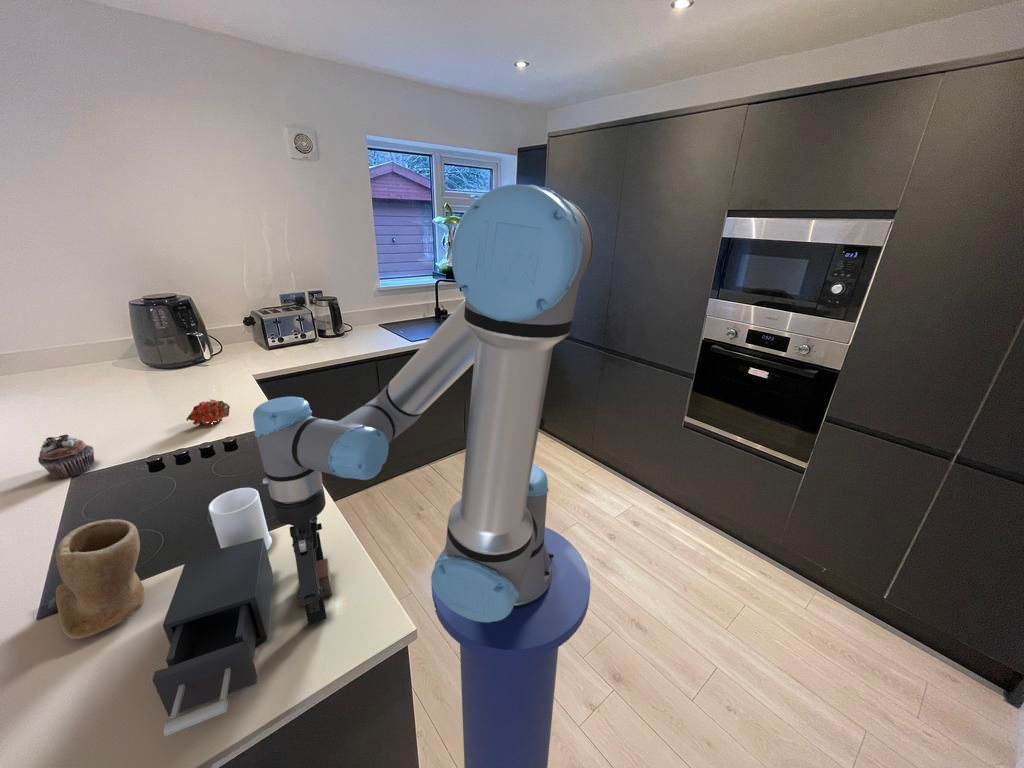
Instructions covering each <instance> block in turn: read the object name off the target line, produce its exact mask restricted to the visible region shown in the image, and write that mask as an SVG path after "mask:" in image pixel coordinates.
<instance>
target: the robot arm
mask: <svg viewBox="0 0 1024 768" xmlns="http://www.w3.org/2000/svg"><path fill="white" fill-rule="evenodd" d="M454 231H455V232H454V236H453V238H452V244H451V253H450V256H451V257H450V258H451V267H452V273H453V277H454V280H455V282H456V284H457V287H458V288H459V289H460V290H461V292H462V294H463V296H464V299H463V300H462V301H461V303H460V304H459V305H458V306H457V307H456V308H455V309H454V310H453V312H451V314H450V315H449V316H448V317H447V318H446V319H445V320H444V322H442V324H441V325H440V326H439V327H438V328H437V329H436V330H435V332H433V334H432V335H431V336H430V337H429V338H428V339H426V341H425V342H424V344H423V345H422V346H421V347H420V348H419V349H418V350H417V352H416V353H415V354H414V355H413V356H412V357H410V359H409V360H408V361H407V362H406V363H405V365H404V366H403V367H402V368H401V369H400V370H399V371H398V372H397V373H396V375H395V376H394V377H393V378H392V379H391V380H390V381H389V382H388V384H386V386H385V387H383V389H382V390H381V391H380V392H379V393H378V394H377V396H375V397H374V398H373V399H371V400H370V401H368V402H367V403H365V404H364V405H362V406H360V407H358V408H357V409H356V410H354V411H352V412H351V413H348V414H347V415H345V416H344V417H343V418H341V419H339V420H331V419H325V418H320V417H316V416H312V414H313V410H311V407H310V403H309V402H308V401H307V400H306V399H304V398H303V397H300V396H299V397H298V396H283V397H282V396H281V397H276V398H273V399H269V400H267V401H265V402H263V403H260V404H259V405H258V406H257V407H256V408H255V409H254V410H253V413H252V418H253V426H254V437H255V438H256V442H257V446H258V451H259V454H260V459H261V463H262V466H263V472H264V474H265V477H264V478H263V479H262V484H263V485H268V491H269V496H270V499H271V500H270V502H271V506H272V511H273V515H274V518H275V520H276V521H278V522H279V523H281V524H284V525H290V526H289V536H290V537H291V539H292V546H291V547H292V548H293V549H292V550H293V553H294V558H295V564H296V565H295V566H296V572H297V579H298V586H299V594H300V595H297V596H296V600H297V602H298V601H300V604H301V605H302V606H304V610H305V616H306V618H307V619H306V620H307V623H308V624H307V625H313V624H315V623H318V622H321V621H324V620H326V619H327V610H326V606H325V600H324V598H323V595H322V589H321V586H320V587H319V579H318V570H317V562H316V561H319V560H323V559H325V558H324V553H323V548H322V542H321V536H320V532H319V531H321V530H323V526H322V522H319V523H318V516H319V515H320V514H321V513H322V512H323V511H324V509H325V507H326V503H327V502H326V495H325V489H324V486H323V483H324V481H323V475H322V473H325V474H329V475H333V476H336V477H339V478H342V479H355V480H361V481H368V480H371V479H373V478H375V477H376V476H377V475H378V474H379V473H380V472H381V471H382V469H383V465H384V464H385V463H386V462H387V459H388V455H389V450H390V449H389V448H390V447H389V444H390V443H392V441H393V440H395V439H396V438H397V437H399V436H400V435H401V434H402V433H404V431H406V430H407V429H409V428H410V427H412V426H413V425H414V424H415V423H416V422H417V421H418V419H419V418H420V417H421V416H422V414H423V413H424V412H425V411H426V410H427V409H428V408H429V407H430V406H431V405H432V404H433V403H434V402H435V401H437V399H439V397H440V396H442V394H443V393H445V392H446V391H447V390H448V389H449V388H450V387H451V386H452V385H453V384H454V383H455V382H456V381H457V380H458V379H459V378H460V377H461V376H462V375H463V374H464V373H465V372H466V371H467V370H468V369H470V367H471V366H472V365H473V370H472V380H471V391H470V403H469V413H468V422H467V423H468V424H467V434H466V444H465V453H464V454H465V456H464V467H463V477H462V486H461V487H462V488H461V498H459V499H458V500H457V501H456V502H455V503H454V504H453V505H452V507H451V508H450V510H449V514H448V517H447V527H446V529H447V530H446V538H445V539H446V540H445V546H444V548H443V550H444V551H443V550H442V551H443V554H442V555H441V557H440V558H439V557H438V558H439V559H438V558H437V559H438V560H437V559H436V561H435V563H434V566H433V569H432V572H431V576H430V582H431V583H432V586H433V589H434V591H435V593H436V594H437V596H438V597H439V599H440V600H441V601H442V602H443V603H445V604H446V605H447V607H449V608H450V609H451V610H453V611H454V612H456V613H457V614H459V615H461V616H463V617H465V618H468V619H471V620H474V621H478V622H492V621H500V620H502V619H504V618H505V617H507V616H508V615H509V614H510V612H511V611H512V609H517V608H523V607H527V606H529V605H532V604H534V603H535V602H537V601H538V600H540V599H541V598H542V597H543V596H544V595H545V594H546V592H547V591H548V589H549V587H550V584H551V578H552V566H551V561H550V558H553V557H554V555H553V554H550V553H548V552H547V549H546V546H545V543H544V534H545V527H546V516H547V504H548V503H547V502H548V493H549V491H550V490H549V489H550V488H549V486H548V485H549V484H548V483H549V482H548V481H549V480H548V476H547V473H546V472H545V471H544V470H543V468H541V467H539V466H538V465H537V464H535V463H534V460H535V455H536V448H537V442H538V438H539V431H540V425H541V418H542V413H543V409H544V402H545V396H546V391H547V385H548V379H549V374H550V373H549V372H550V368H551V367H550V366H551V363H552V356H553V350H554V347H555V345H556V344H558V343H559V342H561V341H563V340H564V339H566V338H567V337H568V336H569V335H570V333H571V329H572V324H573V319H574V312H575V308H576V302H577V297H578V292H579V286H580V281H581V280H582V279H583V278H584V277H585V275H586V273H587V271H588V269H589V267H590V265H591V263H592V259H593V254H594V249H595V247H594V246H595V241H594V234H593V229H592V226H591V224H590V222H589V219H588V218H587V215H586V214H585V213H584V212H583V211H582V210H581V208H580V207H579V206H578V205H577V204H575V203H574V202H573V201H571V200H570V199H567V198H565V197H564V196H561V195H559V194H558V193H557V192H555V191H553V190H552V189H551V188H548V187H543V186H538V185H535V184H533V183H530V184H518V183H517V184H508V185H507V184H506V185H502V186H499V187H496V188H493V189H491V190H489V191H487V192H485V193H484V194H483V195H481V196H479V197H478V198H477V199H476V200H474V202H473V203H472V204H471V205H469V207H468V208H467V210H465V212H464V214H463V215H462V216H461V218H460V220H459V222H458V224H457V226H456V229H455V230H454ZM432 586H431V587H432Z"/></svg>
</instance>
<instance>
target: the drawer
mask: <svg viewBox="0 0 1024 768" xmlns="http://www.w3.org/2000/svg"><path fill="white" fill-rule="evenodd" d="M256 634H257V623H256V620H255V617H254V613H253V610H252V606H251V603H247V604H244V605H241V606H237V607H234V608H231V609H228V610H225V611H221V612H218V613H215V614H212V615H208V616H205V617H202V618H199V619H196V620H192V621H189V622H186V623H183V624H180V625H177V627H176V630H175V633H174V636H173V639H172V643H171V645H170V646H169V649H168V652H167V655H166V658H165V663H166V665H167V667H165V668H161V669H158V670H156V671H154V673H153V676H152V680H151V681H152V683H153V685H154V687H155V690H156V692H157V694H158V696H159V699H160V701H161V703H162V705H163V707H164V709H165V711H166V713H167V716H168V717H169V719H168V720H167V721H166V722H165V723H164V726H163V735H164V736H165V737H168V736H170V735H173V734H175V733H177V732H180V731H182V730H184V729H187V728H190V727H192V726H194V725H198V724H200V723H203V722H205V721H208V720H210V719H212V718H215V717H217V716H219V715H220V716H221V715H222V714H224V713H225V714H226V713H227V712H228V708H229V701H228V695H229V694H232V693H235V692H238V691H240V690H242V689H245V688H248V687H251V686H253V685H256V684H257V682H258V673H257V670H256V666H255V663H254V659H255V651H256V650H255V649H256V643H255V642H256ZM216 699H219V701H215V702H213V703H211V704H208V705H206V706H203V707H201V708H198V709H196V710H193V711H191V712H188V713H185V714H183V715H181V716H179V714H180V713H183V712H186V711H188V710H190V709H193V708H195V707H198V706H202V705H204V704H207V703H209V702H212V701H214V700H216Z"/></svg>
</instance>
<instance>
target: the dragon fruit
mask: <svg viewBox="0 0 1024 768" xmlns="http://www.w3.org/2000/svg"><path fill="white" fill-rule="evenodd" d="M230 408H231V406H230V405H229V404H228V403H227V402H224V401H223V400H215V399H212V398H211V399H210V398H209V401H208V400H207V401H201V402H199V403H198V404H197V405H194V406H193V409H192V410H191V412H190V414H189V415H187V418H186V419H185V421H186V422H188V421H191V422H192V425H194V426H198V425H197V424H202V425H204V426H207V425H208V424H210V423H212V422H213V421H217V422H216V423H220V422H222V421H223V418H227V417H229V415H230ZM218 420H219V421H218ZM206 422H210V423H206ZM213 423H214V424H210V425H211V426H214V425H215V424H216V423H215V422H213Z"/></svg>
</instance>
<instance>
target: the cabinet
mask: <svg viewBox="0 0 1024 768" xmlns="http://www.w3.org/2000/svg"><path fill="white" fill-rule="evenodd" d="M273 583H274V573H273V568H272V565H271V561H270V558H269V553H268V550H267V549H266V545H265V542H264V538H260V539H256V540H252V541H249V542H245V543H241V544H237V545H233V546H229V547H225V548H218V549H217V548H216V549H214V550H210V551H206V552H203V553H198V554H194V555H190V556H187V557H186V559H185V562H184V565H183V567H182V570H181V573H180V576H179V578H178V582H177V584H176V587H175V590H174V593H173V595H172V598H171V601H170V604H169V607H168V609H167V612H166V615H165V618H164V620H163V623H162V628H163V630H164V633H165V635H166V638H167V640H168V643H169V645H170V646H171V643H172V639H173V636H174V633H175V630H176V627H177V625H180V624H183V623H186V622H189V621H192V620H196V619H199V618H202V617H205V616H208V615H212V614H215V613H218V612H221V611H225V610H228V609H231V608H234V607H237V606H241V605H244V604H247V603H251V606H252V610H253V613H254V617H255V620H256V623H257V634H256V642H255V644H257V643H260V642H263V641H266V640H268V636H269V626H270V625H269V624H270V617H271V605H272V597H273V596H272V595H273Z"/></svg>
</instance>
